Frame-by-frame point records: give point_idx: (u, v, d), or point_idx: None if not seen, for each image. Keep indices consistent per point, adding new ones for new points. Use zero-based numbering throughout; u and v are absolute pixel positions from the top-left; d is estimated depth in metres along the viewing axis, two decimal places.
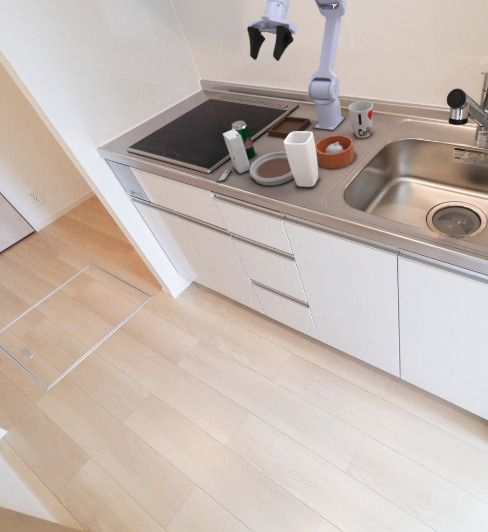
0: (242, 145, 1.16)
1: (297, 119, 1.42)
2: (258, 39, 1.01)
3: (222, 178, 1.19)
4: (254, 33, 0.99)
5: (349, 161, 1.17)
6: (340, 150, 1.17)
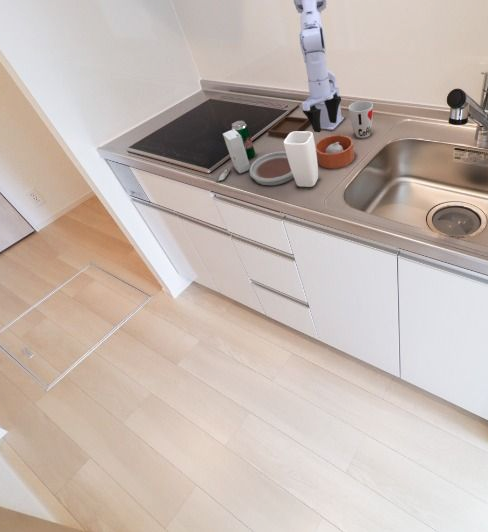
0: (242, 145, 1.16)
1: (297, 119, 1.42)
2: None
3: (221, 178, 1.20)
4: None
5: (349, 161, 1.17)
6: (340, 150, 1.17)
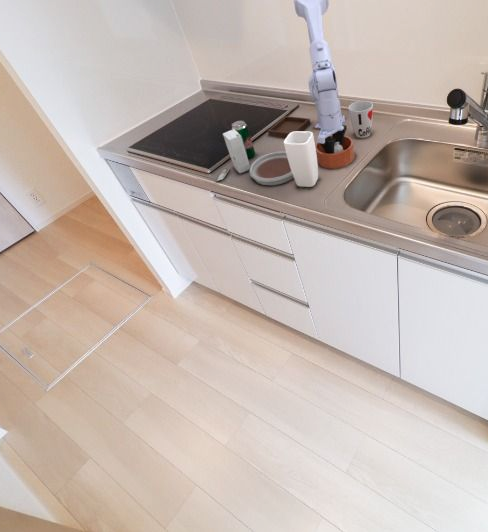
0: (242, 145, 1.16)
1: (297, 119, 1.42)
2: None
3: (220, 178, 1.20)
4: None
5: (349, 161, 1.17)
6: (340, 150, 1.17)
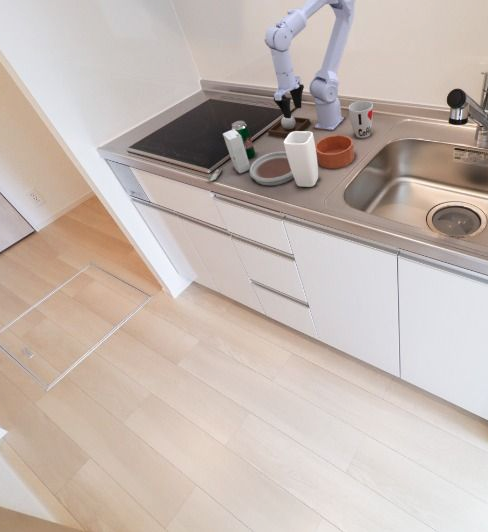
0: (242, 145, 1.16)
1: (297, 119, 1.42)
2: None
3: (213, 178, 1.20)
4: None
5: (349, 161, 1.17)
6: (289, 122, 1.35)
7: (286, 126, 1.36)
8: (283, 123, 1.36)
